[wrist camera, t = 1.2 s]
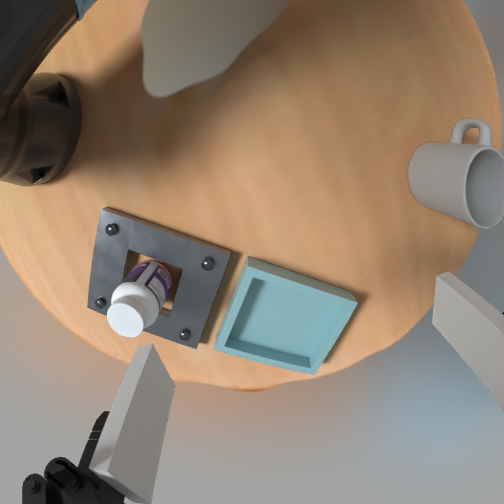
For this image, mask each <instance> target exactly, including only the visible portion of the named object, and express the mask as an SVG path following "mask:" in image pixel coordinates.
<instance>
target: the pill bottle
mask: <svg viewBox="0 0 504 504" xmlns="http://www.w3.org/2000/svg"><path fill="white" fill-rule="evenodd" d="M171 287H172V279H171V276H170V273H169V271H168V270H167V269H166V268H165V267H164V266H163V265H162V264H160V263H158V262H156V261H152V260H146V261H142V262H140V263H138V264H137V265H136V266H135V267H134V268H133V269H132V270H131V271H130V273H129V274H128V275H127V276H126V277H125V278H124V280H123V281H122V282H121V283H120V284H119V285H118V287H117V288H116V289H115V291H114V292H113V295H112V299H111V304H112V305H111V306H110V307H109V309H108V311H107V319H108V322H109V324H110V326H111V327H112V329H113V330H114V331H116V332H117V333H118V334H120V335H122V336H125V337H136V336H138V335H140V334H141V333H142V331H143V329H144V328H146V327H149V326H150V325H152V324H153V323H154V322H155V320H156V319H157V317H158V315H159V313H160V311H161V309H162V307H163V305H164V303H165V301H166V299H167V296H168V294H169V292H170V290H171Z"/></svg>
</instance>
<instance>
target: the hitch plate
mask: <svg viewBox="0 0 504 504" xmlns="http://www.w3.org/2000/svg"><path fill="white" fill-rule="evenodd" d="M131 250H132V251H134V252H137V253H140V254H142V255H145V256H148V257H151V258H153V259H156V260H159V261H162V262H164V263H167V264H170V265H173V266H175V267H178V268H181V269H183V272H182V275H181V278H180V282H179V285H178V289H177V292H176V296H175V299H174V303H173V306H172V310H171V311H169V310H166V309H164V308H162V309H161V311H160V313H159V315H158V317H157V319H156V320H155V322H154V323H153V324H152V325H150V326H149V327H146V328H144V329H143V331H146V332H148V333H151V334H154V335H157V336H159V337H162V338H165V339H168V340H171V341H174V342H176V343H179V344H182V345H185V346H188V347H192V348H195V349H197V346H198V343H199V340H200V337H201V335H202V332H203V329H204V326H205V323H206V321H207V318H208V315H209V312H210V309H211V307H212V304H213V301H214V298H215V296H216V293H217V290H218V287H219V285H220V282H221V279H222V276H223V274H224V271H225V268H226V266H227V263H228V260H229V257H230V255H231V250H228V249H225V248H222V247H220V246H217V245H214V244H211V243H208V242H205V241H202V240H199V239H197V238H194V237H191V236H188V235H185V234H182V233H179V232H177V231H174V230H171V229H168V228H165V227H162V226H160V225H157V224H154V223H151V222H148V221H145V220H143V219H140V218H137V217H134V216H131V215H128V214H126V213H123V212H120V211H117V210H114V209H111V208H109V207H105V208H103V209H101V213H100V218H99V223H98V228H97V234H96V240H95V246H94V252H93V259H92V267H91V275H90V284H89V294H88V306H87V307H88V308H90V309H92V310H94V311H97V312H99V313H101V314H103V315H106V316H107V311H108V309H109V307H110V306H111V305H112V304H111V299H112V295H113V292H114V291H115V289H116V288H117V287H118V285H119V284H120V283H121V282H122V281H123V280H124V278H125V277H126V274H127V269H128V264H129V259H130V254H131Z"/></svg>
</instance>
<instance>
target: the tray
mask: <svg viewBox="0 0 504 504" xmlns="http://www.w3.org/2000/svg"><path fill="white" fill-rule="evenodd" d="M357 304H358V302H357V300H356V299H355V297H354V296H353V295H352V293H351V292H350V291H347V290H344V289H341V288H338V287H335V286H333V285H330V284H327V283H324V282H321V281H318V280H315V279H312V278H309V277H306V276H303V275H300V274H298V273H295V272H292V271H289V270H286V269H283V268H280V267H277V266H274V265H271V264H269V263H266V262H263V261H260V260H257V259H254V258H251V257H248V256H247V259H246V261H245V264H244V266H243V269H242V271H241V274H240V277H239V279H238V282H237V284H236V287H235V289H234V292H233V294H232V297H231V299H230V302H229V305H228V307H227V310H226V312H225V315H224V317H223V320H222V322H221V325H220V328H219V330H218V333H217V335H216V341H215V347H214V350H217V351H220V352H223V353H227V354H230V355H234V356H237V357H241V358H245V359H248V360H252V361H256V362H260V363H264V364H268V365H272V366H276V367H280V368H284V369H289V370H293V371H298V372H302V373H307V374H312V375H314V374H315V373H316V371H317V370H318V368H319V367H320V365H321V364H322V362H323V361H324V359H325V357H326V356H327V354H328V353H329V351H330V350H331V348H332V346H333V345H334V343H335V342H336V340H337V338H338V337H339V335H340V333H341V332H342V330H343V328H344V327H345V325H346V323H347V322H348V320H349V318H350V316H351V315H352V313H353V311H354V309H355V308H356V306H357Z"/></svg>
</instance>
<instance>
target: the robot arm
mask: <svg viewBox="0 0 504 504" xmlns="http://www.w3.org/2000/svg"><path fill="white" fill-rule="evenodd" d="M96 1H97V0H0V180H1V181H4V182H8V183H12V184H16V185H19V186H34V185H38V184H42V183H45V182H47V181H49V180H51V179H53V178H54V177H55V176H56V175H58V174H59V173H60V172H61V171H62V169H63V168H64V167H65V165H66V164H67V163H68V161H69V159H70V157H71V156H72V154H73V151H74V149H75V146H76V144H77V140H78V137H79V132H80V126H81V105H80V100H79V96H78V94H77V91H76V89H75V88H74V86H73V85H72V84H71V82H70V81H68V80H67V79H66V78H64V77H62V76H59V75H56V74H52V73H37V74H33V73H34V72H35V71H36V69H37V68H38V67H39V65H40V64H41V63H42V61H43V60H44V59H45V57H46V56H47V55H48V54H49V52H50V51H51V50H52V49H53V47H54V46H55V45H56V44H57V43H58V42H59V41H60V39H61V38H62V37H63V36H64V35H65V34H66V33H67V32H68V31H69V30H70V29H71V27H72V26H73V25H74V24H75V23H76V22H77V21H80V20H81V19H82V18H83V17H84V14H85V13H86V12H87V11H88V10H89V8H90V7H91V6H92V5H93V4H94V3H95V2H96ZM432 324H433V325H434V326H435V327H436V329H437V330H438V331H439V332H440V333H441V334H442V335H443V337H444V338H445V339H446V340H447V341H448V342H449V343H450V344H451V346H452V347H453V348H454V349H455V350H456V351H457V353H458V354H459V355H460V356H461V357H462V359H463V360H464V361H465V362H466V363H467V365H468V366H469V367H470V368H471V370H472V371H473V372H474V373H475V374H476V375H477V377H478V378H479V379H480V381H481V382H482V383H483V385H484V386H485V387H486V388H487V389H488V391H489V392H490V394H491V395H492V396H493V398H494V399H495V400H496V402H497V403H498V404H499V405H500V407H501V408H502V410H503V411H504V312H503V313H501V312H499V311H498V310H497V309H496V308H495V307H493V306H492V305H491V304H490V303H489V302H487V301H486V300H485V299H484V298H482V297H481V296H480V295H479V294H477V293H476V292H475V291H473V290H472V289H471V288H470V287H468V286H467V285H466V284H465V283H463V282H462V281H461V280H459V279H458V278H457V277H455V276H454V275H453V274H451V273H450V272H445V273H442V274H440V275H437V276H436V288H435V299H434V309H433V318H432ZM174 390H175V384H174V382H173V380H172V379H171V377H170V375H169V373H168V372H167V370H166V368H165V366H164V364H163V362H162V360H161V359H160V357H159V355H158V353H157V351H156V349H155V347H154V345H153V344H146V345H139V346H138V347H137V349H136V352H135V354H134V356H133V358H132V360H131V363H130V365H129V367H128V370H127V372H126V374H125V377H124V379H123V381H122V383H121V386H120V388H119V391H118V393H117V395H116V398H115V400H114V403H113V405H112V408H111V410H110V411H104V412H103V413H102V414H101V415H100V416H99V418H98V419H97V420H96V422H95V425H94V427H93V429H92V433H91V434H90V437H89V440H88V442H87V444H86V447H85V449H84V452H83V455H82V457H81V460H80V462H79V465H78V467H76V466H75V465H74V464H73V463H71V462H70V461H69V460H68V459H66V458H64V457H58V458H54V459H53V460H52V461H50V462H49V463H48V465H47V466H46V468H45V471H44V478H43V477H42V476H41V475H39V474H31V475H29V476H28V477H27V478H26V479H25V481H24V482H23V487H22V488H23V489H22V502H23V503H22V504H125V503H124V498H125V497H127V498H128V499H130V500H131V501H133V502H136V503H143V504H151V502H152V497H153V491H154V486H155V479H156V475H157V470H158V464H159V459H160V454H161V449H162V444H163V440H164V435H165V430H166V426H167V421H168V417H169V412H170V407H171V403H172V399H173V394H174ZM47 480H48V481H47Z"/></svg>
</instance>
